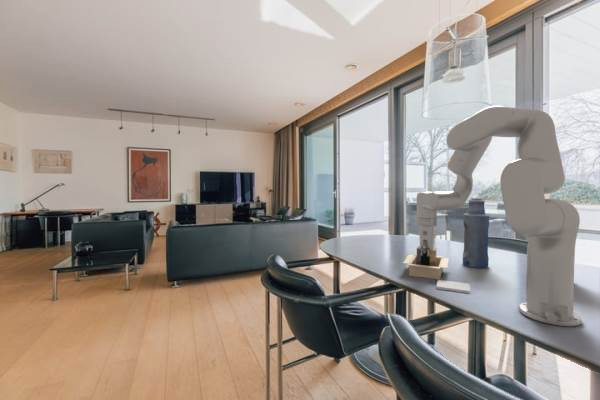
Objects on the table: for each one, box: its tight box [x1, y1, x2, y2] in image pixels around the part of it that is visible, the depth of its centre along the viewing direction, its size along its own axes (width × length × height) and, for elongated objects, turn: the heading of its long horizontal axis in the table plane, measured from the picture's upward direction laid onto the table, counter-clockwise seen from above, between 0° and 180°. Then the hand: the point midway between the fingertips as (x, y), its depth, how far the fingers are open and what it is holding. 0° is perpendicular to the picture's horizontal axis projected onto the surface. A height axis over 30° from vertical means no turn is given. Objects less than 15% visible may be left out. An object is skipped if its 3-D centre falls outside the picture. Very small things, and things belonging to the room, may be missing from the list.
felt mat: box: [435, 279, 471, 294], centre depth 99 cm, size 8×10×1 cm
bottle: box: [462, 197, 490, 269], centre depth 124 cm, size 10×10×30 cm
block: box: [416, 245, 437, 267], centre depth 116 cm, size 5×7×10 cm
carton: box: [402, 253, 450, 280], centre depth 117 cm, size 20×16×5 cm
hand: (426, 263), depth 117 cm, fingers open, 9 cm apart
